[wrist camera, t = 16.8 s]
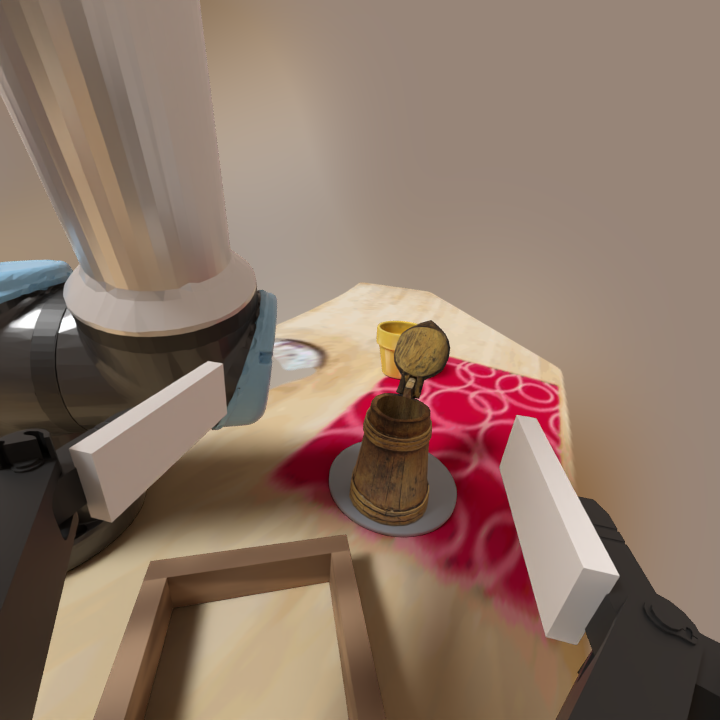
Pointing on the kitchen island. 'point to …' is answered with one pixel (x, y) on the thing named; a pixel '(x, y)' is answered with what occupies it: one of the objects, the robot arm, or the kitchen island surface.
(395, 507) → the wooden mug
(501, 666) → the kitchen island surface
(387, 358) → the plant pot
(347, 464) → the grey mat
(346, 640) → the frame
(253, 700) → the kitchen island surface
